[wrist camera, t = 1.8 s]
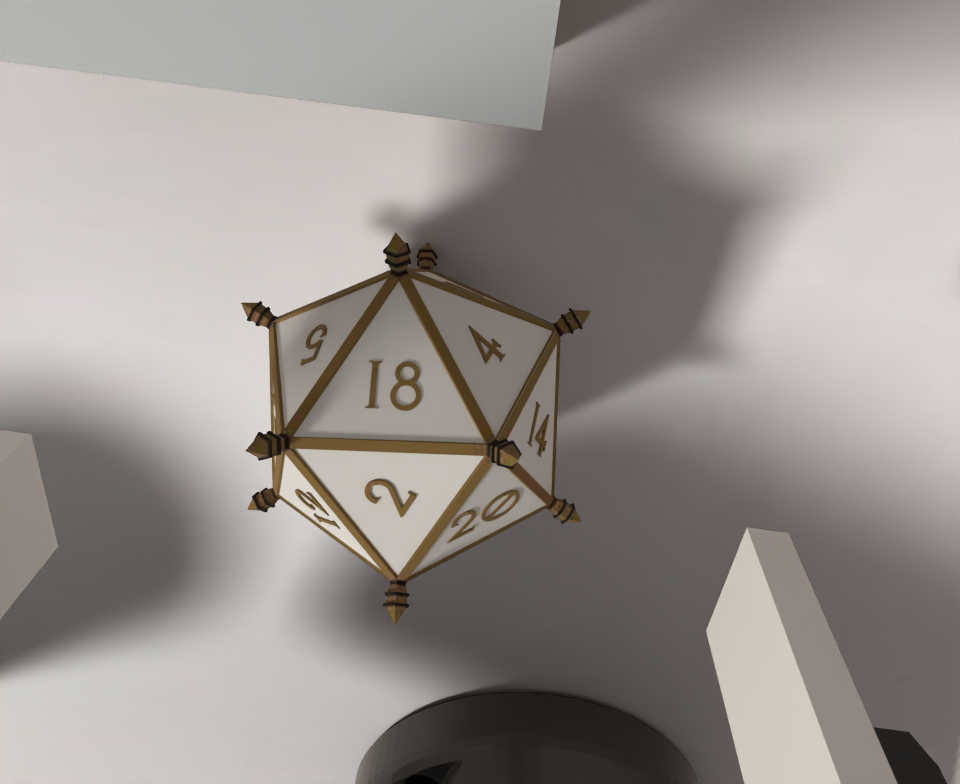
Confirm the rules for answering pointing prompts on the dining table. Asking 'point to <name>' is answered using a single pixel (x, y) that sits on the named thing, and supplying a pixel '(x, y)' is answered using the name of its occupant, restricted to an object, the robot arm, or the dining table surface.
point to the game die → (412, 416)
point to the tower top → (309, 49)
